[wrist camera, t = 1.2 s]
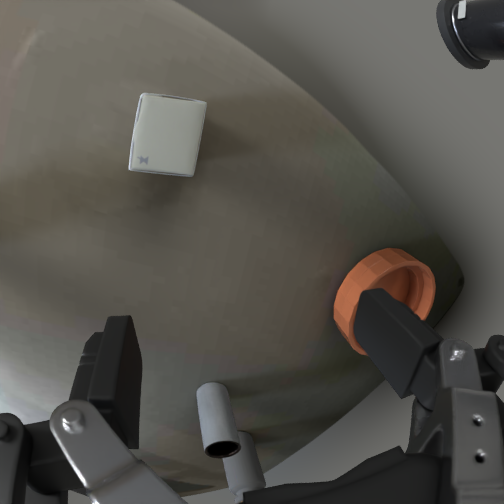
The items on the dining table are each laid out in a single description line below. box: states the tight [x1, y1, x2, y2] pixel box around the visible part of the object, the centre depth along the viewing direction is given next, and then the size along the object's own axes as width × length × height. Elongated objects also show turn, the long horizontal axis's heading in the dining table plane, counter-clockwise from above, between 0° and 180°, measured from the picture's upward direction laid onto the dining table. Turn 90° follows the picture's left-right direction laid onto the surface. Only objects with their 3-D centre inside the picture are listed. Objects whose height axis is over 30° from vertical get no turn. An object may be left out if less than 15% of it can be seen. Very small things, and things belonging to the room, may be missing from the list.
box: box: [129, 93, 207, 177], centre depth 22 cm, size 5×4×11 cm
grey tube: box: [197, 382, 241, 458], centre depth 36 cm, size 4×4×10 cm
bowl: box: [334, 248, 436, 356], centre depth 38 cm, size 14×14×5 cm
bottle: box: [223, 431, 266, 504], centre depth 40 cm, size 6×6×15 cm
